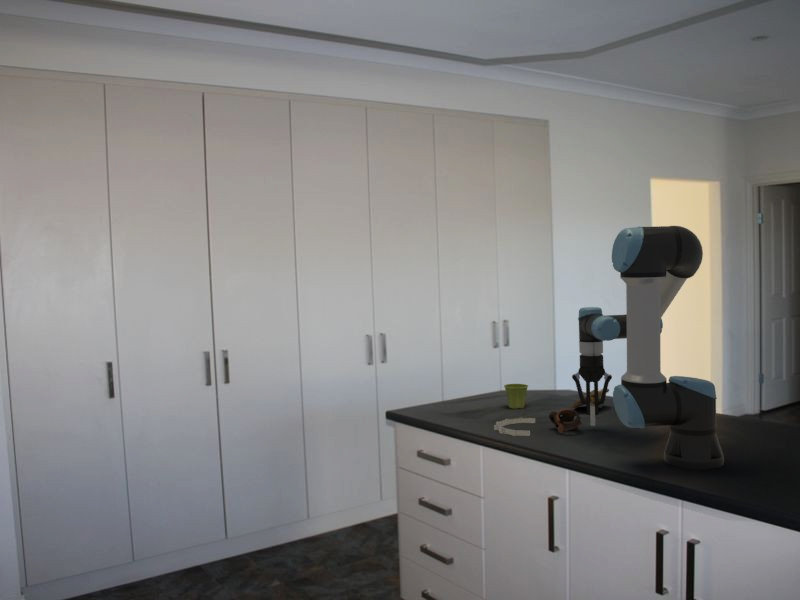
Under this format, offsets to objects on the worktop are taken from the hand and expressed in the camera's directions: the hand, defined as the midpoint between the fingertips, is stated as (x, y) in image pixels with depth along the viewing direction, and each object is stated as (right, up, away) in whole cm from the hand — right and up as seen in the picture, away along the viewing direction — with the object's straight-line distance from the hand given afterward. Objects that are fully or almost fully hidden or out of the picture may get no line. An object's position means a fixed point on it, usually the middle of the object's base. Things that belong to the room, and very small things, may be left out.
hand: (592, 424), depth 223 cm
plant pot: (-18, -1, +41) cm, 45 cm away
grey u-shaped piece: (-25, -3, +7) cm, 26 cm away
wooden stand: (+9, -1, +28) cm, 30 cm away
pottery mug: (-9, -3, +3) cm, 10 cm away
